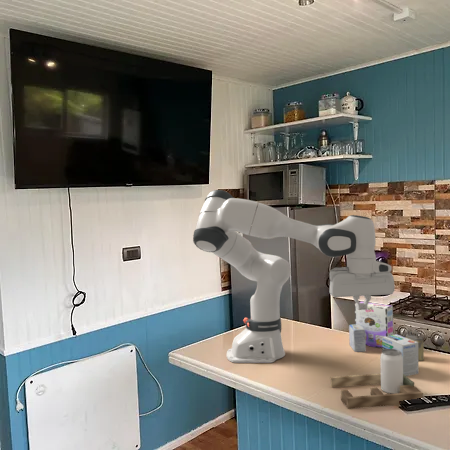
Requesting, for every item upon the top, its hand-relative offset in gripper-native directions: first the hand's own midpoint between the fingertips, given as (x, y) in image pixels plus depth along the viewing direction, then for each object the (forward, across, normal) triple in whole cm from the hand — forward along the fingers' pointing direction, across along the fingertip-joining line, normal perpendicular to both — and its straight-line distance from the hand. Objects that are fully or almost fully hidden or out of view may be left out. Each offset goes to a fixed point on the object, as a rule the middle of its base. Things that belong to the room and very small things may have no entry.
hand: (362, 309), depth 148 cm
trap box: (+24, 0, -9) cm, 26 cm away
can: (+24, +6, -7) cm, 26 cm away
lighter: (+24, +26, +18) cm, 40 cm away
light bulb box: (+24, +16, +8) cm, 30 cm away
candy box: (+24, +18, +35) cm, 46 cm away
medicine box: (+24, +10, +32) cm, 41 cm away
